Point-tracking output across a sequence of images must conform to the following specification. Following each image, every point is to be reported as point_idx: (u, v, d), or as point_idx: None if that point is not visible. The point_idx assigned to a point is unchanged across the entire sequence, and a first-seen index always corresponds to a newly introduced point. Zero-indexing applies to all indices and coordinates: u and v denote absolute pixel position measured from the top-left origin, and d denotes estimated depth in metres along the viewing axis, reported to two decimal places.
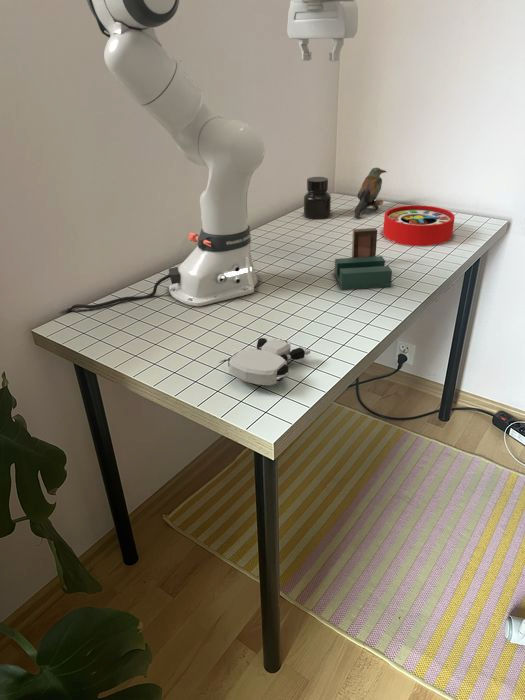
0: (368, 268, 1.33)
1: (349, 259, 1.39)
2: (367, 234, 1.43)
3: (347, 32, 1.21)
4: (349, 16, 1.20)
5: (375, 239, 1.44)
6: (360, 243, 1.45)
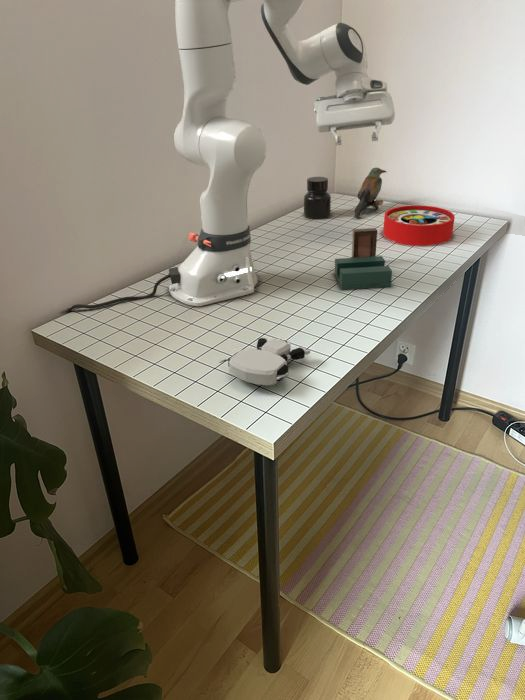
0: (368, 268, 1.33)
1: (349, 259, 1.39)
2: (367, 234, 1.43)
3: (394, 113, 1.42)
4: None
5: (375, 239, 1.44)
6: (360, 243, 1.45)
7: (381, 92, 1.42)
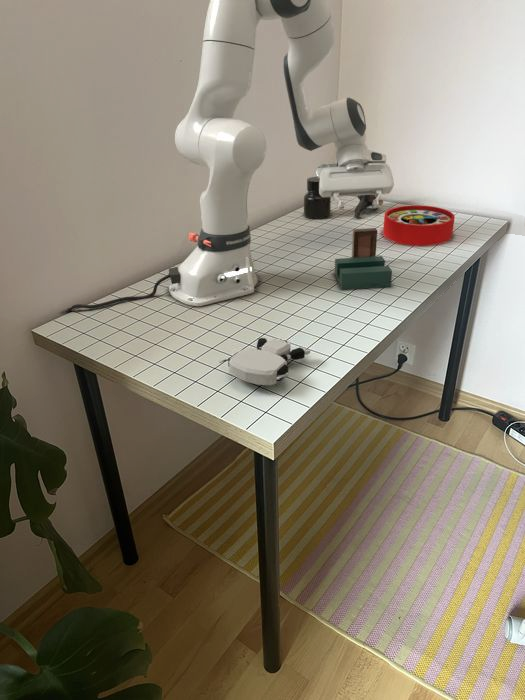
0: (368, 268, 1.33)
1: (349, 259, 1.39)
2: (367, 234, 1.43)
3: (393, 183, 1.50)
4: None
5: (375, 239, 1.44)
6: (360, 243, 1.45)
7: (381, 164, 1.50)
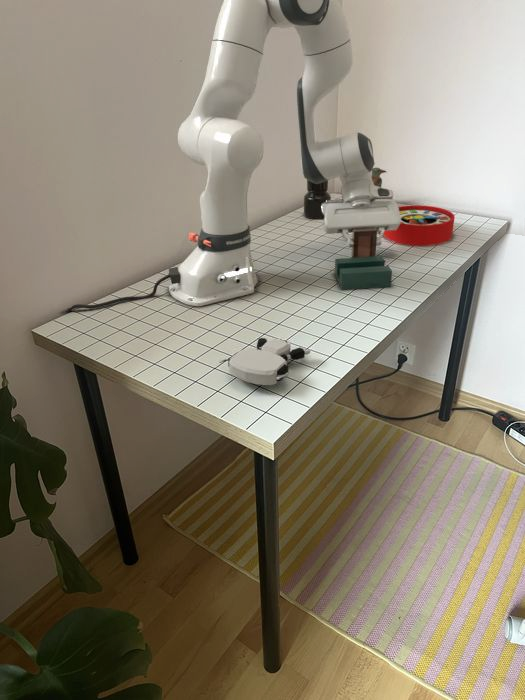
0: (368, 268, 1.33)
1: (349, 259, 1.39)
2: (367, 234, 1.43)
3: None
4: None
5: (375, 239, 1.44)
6: (360, 243, 1.45)
7: (388, 200, 1.45)
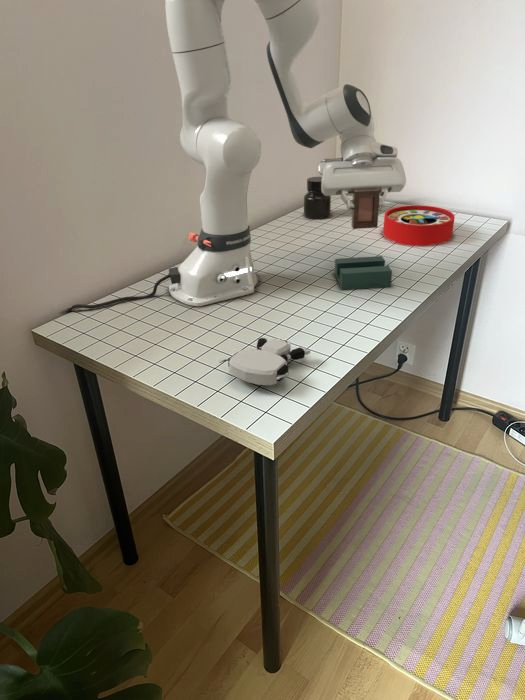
0: (368, 268, 1.33)
1: (349, 259, 1.39)
2: (369, 195, 1.30)
3: (405, 180, 1.32)
4: None
5: (377, 200, 1.31)
6: (361, 205, 1.32)
7: (392, 158, 1.32)
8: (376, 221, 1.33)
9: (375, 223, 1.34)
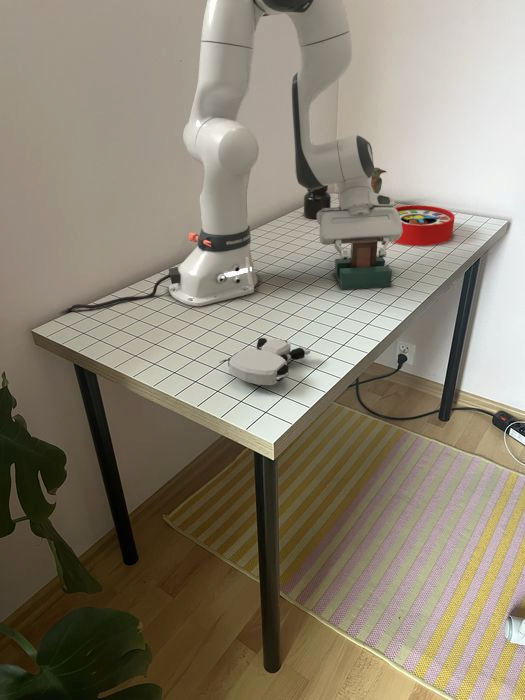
0: (368, 268, 1.33)
1: (349, 259, 1.39)
2: (366, 246, 1.32)
3: (402, 230, 1.34)
4: None
5: (375, 251, 1.33)
6: (359, 255, 1.34)
7: (388, 208, 1.35)
8: None
9: None
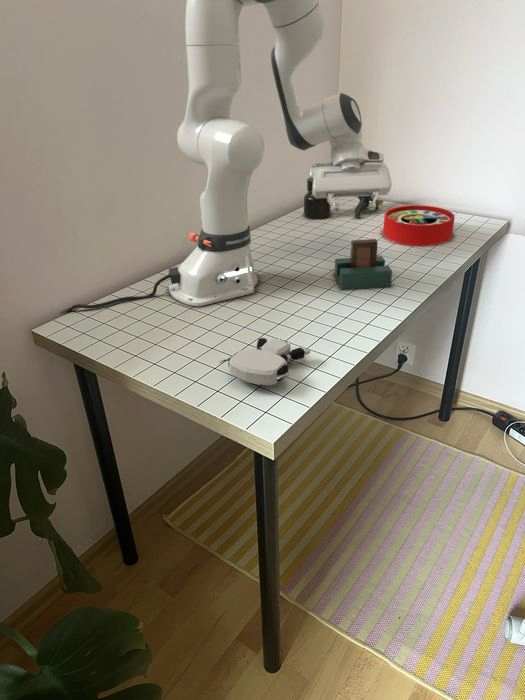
0: (368, 268, 1.33)
1: (349, 259, 1.39)
2: (366, 246, 1.32)
3: (391, 184, 1.41)
4: None
5: (375, 251, 1.33)
6: (359, 255, 1.34)
7: (378, 163, 1.42)
8: None
9: None
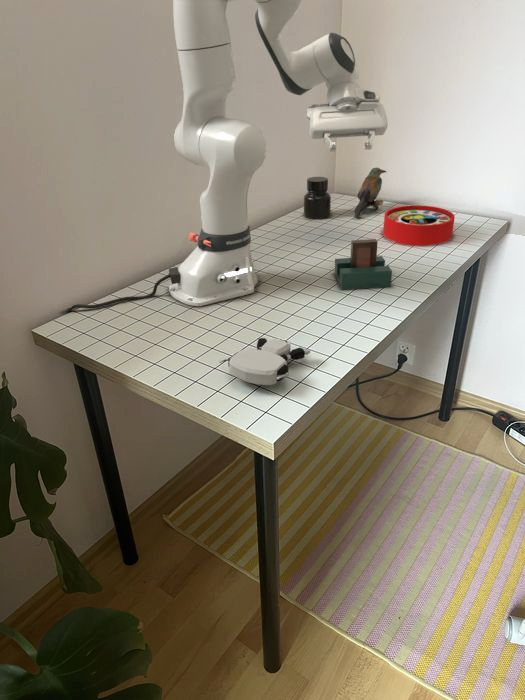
0: (368, 268, 1.33)
1: (349, 259, 1.39)
2: (366, 246, 1.32)
3: (387, 123, 1.43)
4: None
5: (375, 251, 1.33)
6: (359, 255, 1.34)
7: (374, 103, 1.43)
8: None
9: None
